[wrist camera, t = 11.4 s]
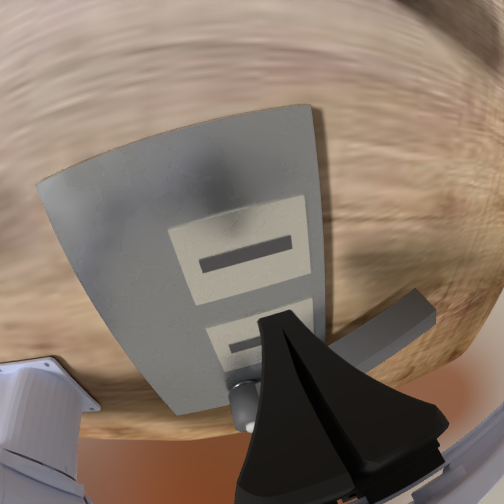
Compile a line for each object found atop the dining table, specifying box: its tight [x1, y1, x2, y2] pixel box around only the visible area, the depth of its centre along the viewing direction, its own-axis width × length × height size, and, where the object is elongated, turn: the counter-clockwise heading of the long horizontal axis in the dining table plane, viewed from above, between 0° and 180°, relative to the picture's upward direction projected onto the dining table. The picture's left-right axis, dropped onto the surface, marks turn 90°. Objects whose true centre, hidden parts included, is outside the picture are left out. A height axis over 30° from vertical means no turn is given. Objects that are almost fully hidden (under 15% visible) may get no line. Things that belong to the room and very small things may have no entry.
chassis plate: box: [36, 104, 325, 415], centre depth 18 cm, size 14×22×1 cm, turn 10°
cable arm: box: [228, 288, 436, 432], centre depth 20 cm, size 3×18×3 cm, turn 119°
